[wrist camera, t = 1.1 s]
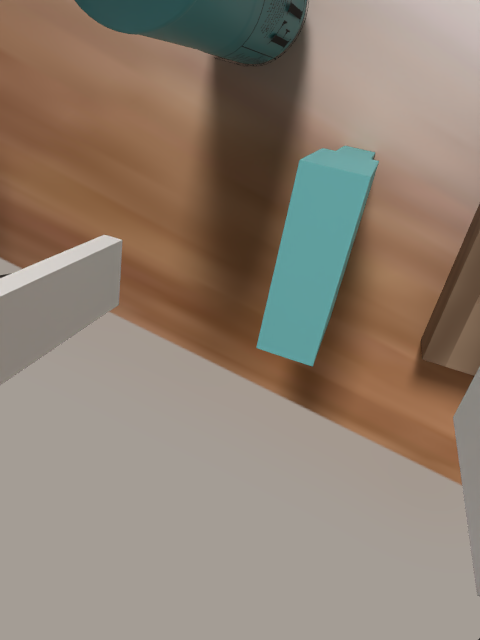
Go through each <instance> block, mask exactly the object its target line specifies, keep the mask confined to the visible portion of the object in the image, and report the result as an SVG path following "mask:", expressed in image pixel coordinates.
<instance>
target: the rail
mask: <svg viewBox="0 0 480 640" xmlns="http://www.w3.org/2000/svg"><path fill="white" fill-rule="evenodd" d="M421 346H422V360H426V361H429V362H432V363H435V364H438V365H442V366H445V367H448V368H451V369H454V370H457V371H461V372H464V373H467V374H470V375H473V376H475V374H476V372H477V370H478V368H479V367H480V204H479V207H478V209H477V211H476V214H475V216H474V218H473V220H472V223H471V225H470V227H469V230H468V232H467V234H466V237H465V239H464V241H463V244H462V246H461V248H460V251H459V253H458V255H457V258H456V260H455V262H454V265H453V267H452V269H451V271H450V274H449V276H448V278H447V281H446V283H445V285H444V288H443V290H442V292H441V295H440V297H439V299H438V302H437V304H436V306H435V309H434V311H433V313H432V316H431V318H430V320H429V323H428V325H427V327H426V329H425V332H424V334H423V336H422V339H421Z"/></svg>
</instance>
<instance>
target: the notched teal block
mask: <svg viewBox="0 0 480 640" xmlns="http://www.w3.org/2000/svg"><path fill="white" fill-rule="evenodd" d="M374 155H375V152H371V151H366V150H362V149H357V148H353V147H349V146H343V147H341V148H340V149H338V150H337V151H333V150H329V149H324V148H322V149H320V150H318V151H316V152H314V153H312V154H310V155H308V156H306V157H304V158H302V159H300V161H299V165H298V169H297V174H296V178H295V182H294V187H293V191H292V195H291V200H290V204H289V208H288V213H287V217H286V222H285V226H284V230H283V235H282V239H281V243H280V248H279V252H278V256H277V261H276V265H275V269H274V274H273V278H272V282H271V287H270V291H269V295H268V300H267V304H266V308H265V313H264V317H263V321H262V326H261V330H260V334H259V339H258V343H257V347H256V348H258V349H261V350H264V351H267V352H270V353H273V354H276V355H279V356H282V357H285V358H288V359H291V360H294V361H297V362H300V363H303V364H306V365H309V366H312V367H313V364H314V361H315V359H316V356H317V353H318V350H319V348H320V345H321V342H322V339H323V337H324V334H325V331H326V328H327V326H328V323H329V320H330V317H331V314H332V311H333V308H334V304H335V301H336V298H337V295H338V291H339V288H340V285H341V282H342V279H343V275H344V272H345V269H346V266H347V262H348V259H349V256H350V253H351V250H352V246H353V243H354V240H355V237H356V234H357V230H358V227H359V224H360V221H361V217H362V214H363V211H364V208H365V205H366V201H367V198H368V195H369V192H370V188H371V185H372V182H373V179H374V176H375V172H376V169H377V166H378V163H379V161H376V160H373V158H374Z"/></svg>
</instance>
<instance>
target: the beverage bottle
mask: <svg viewBox="0 0 480 640" xmlns="http://www.w3.org/2000/svg"><path fill="white" fill-rule="evenodd" d="M75 2H76V3H77V4H78V5H79V6H80V7H81V9H82V10H84V11H85V12H86V13H87V14H88V15H89V16H90V17H91V18H93V19H94V20H95V21H97V22H98V23H100V24H102V25H103V26H105V27H107V28H110V29H112V30H115V31H118V32H122V33H127V34H139V35H143V36H147V37H151V38H155V39H159V40H163V41H167V42H170V43H174V44H178V45H182V46H186V47H190V48H194V49H198V50H200V51H203V52H205V53H208V54H212V55H215V56H219V57H220V58H221V57H223V59H225V58H226V59H230V60H233V61H237V63H245V66H246V67H247V66H248V64H257V65H258V64H260V63H261V64H262V63H263V62H264V63H265V62H267V61H269V60H271V59H275V60H276V58H275V57H277V56H278V55H279V54H281V53H282V52H284V51H285V49H286V48H288V46H289V45H290V44H291V43H292V41H293V40H294V38H295V37H296V35H297V34H298V32H299V30H300V28H301V25H302V22H303V19H304V16H305V12H306V7H307V6H306V5H307V0H75ZM308 4H309V2H308ZM307 11H308V9H307ZM306 15H307V14H306ZM305 19H306V18H305ZM304 22H305V21H304ZM302 27H303V26H302ZM297 37H298V36H297ZM296 39H297V38H296ZM294 42H295V41H294ZM290 47H291V46H290ZM290 47H289V48H290ZM285 52H286V51H285ZM285 52H284V53H285ZM284 53H283V54H284ZM283 54H282V55H283ZM279 57H280V56H279ZM279 57H278V58H279ZM215 59H216V58H215ZM219 60H220V59H219ZM223 61H224V60H223ZM273 61H274V60H273ZM271 62H272V61H271ZM230 63H231V62H230ZM264 63H263V64H264ZM269 63H270V62H269ZM234 64H235V63H234ZM261 64H260V66H261ZM238 65H239V64H238ZM257 65H256V66H257ZM264 65H265V64H264ZM253 66H254V65H253ZM256 66H254V67H256Z"/></svg>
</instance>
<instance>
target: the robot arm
mask: <svg viewBox="0 0 480 640" xmlns="http://www.w3.org/2000/svg"><path fill="white" fill-rule="evenodd" d="M121 255H122V240H121V239H117V238H114V237H111V236H107V235H103V236H100V237H98V238H95V239H93V240H91V241H88V242H86V243H84V244H81V245H79V246H76V247H74V248H72V249H69V250H67V251H64V252H62V253H60V254H57V255H55V256H52V257H50V258H48V259H45V260H43V261H40V262H38V263H36V264H33V265H31V266H29V267H26V268H24V269H21V270H19V271H17V272H14V273H11V274H6V275H0V385H1V384H3V383H4V382H6V381H7V380H9V379H10V378H11V377H13V376H14V375H16V374H17V373H19V372H20V371H22V370H23V369H25V368H26V367H28V366H29V365H31V364H32V363H34V362H35V361H37V360H38V359H40V358H41V357H42V356H44V355H45V354H47V353H48V352H50V351H51V350H53V349H54V348H56V347H57V346H59V345H60V344H61V343H63V342H65V341H66V340H68V339H69V338H70V337H72V336H73V335H75V334H76V333H78V332H79V331H81V330H82V329H84V328H85V327H87V326H88V325H90V324H91V323H93V322H94V321H95V320H97V319H98V318H100V317H101V316H103V315H104V314H106V313H107V312H109V311H110V310H112V309H113V308H115V307H116V306H118V305H119V291H120V273H121ZM453 420H454V427H455V435H456V442H457V449H458V457H459V464H460V472H461V479H462V486H463V494H464V501H465V509H466V516H467V523H468V531H469V538H470V546H471V553H472V560H473V568H474V575H475V583H476V590H477V596H480V367H479V368H478V370H477V372H476V374H475V376H474V378H473V380H472V382H471V384H470V386H469V388H468V390H467V392H466V394H465V396H464V397H463V399H462V401H461V403H460V405H459V407H458V409H457V411H456V413H455V415H454V417H453ZM479 640H480V638H479Z"/></svg>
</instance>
